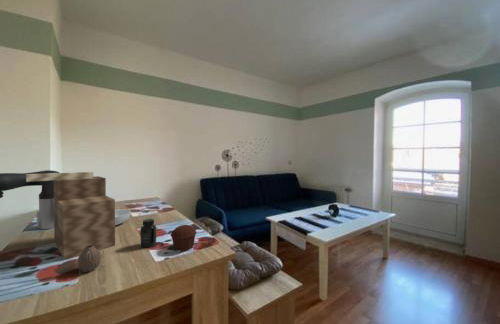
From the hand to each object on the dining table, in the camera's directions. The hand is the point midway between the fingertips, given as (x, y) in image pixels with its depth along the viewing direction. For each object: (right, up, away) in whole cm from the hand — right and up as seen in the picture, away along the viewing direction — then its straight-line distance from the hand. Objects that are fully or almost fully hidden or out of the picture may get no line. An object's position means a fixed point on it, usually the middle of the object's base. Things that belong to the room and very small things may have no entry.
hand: (1, 192), depth 82 cm
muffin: (+69, -28, +13) cm, 76 cm away
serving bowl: (+15, -26, +43) cm, 53 cm away
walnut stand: (+21, -27, +15) cm, 37 cm away
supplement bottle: (+52, -28, +15) cm, 61 cm away
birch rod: (+12, +4, +14) cm, 19 cm away
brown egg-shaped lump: (+40, -28, -6) cm, 50 cm away
